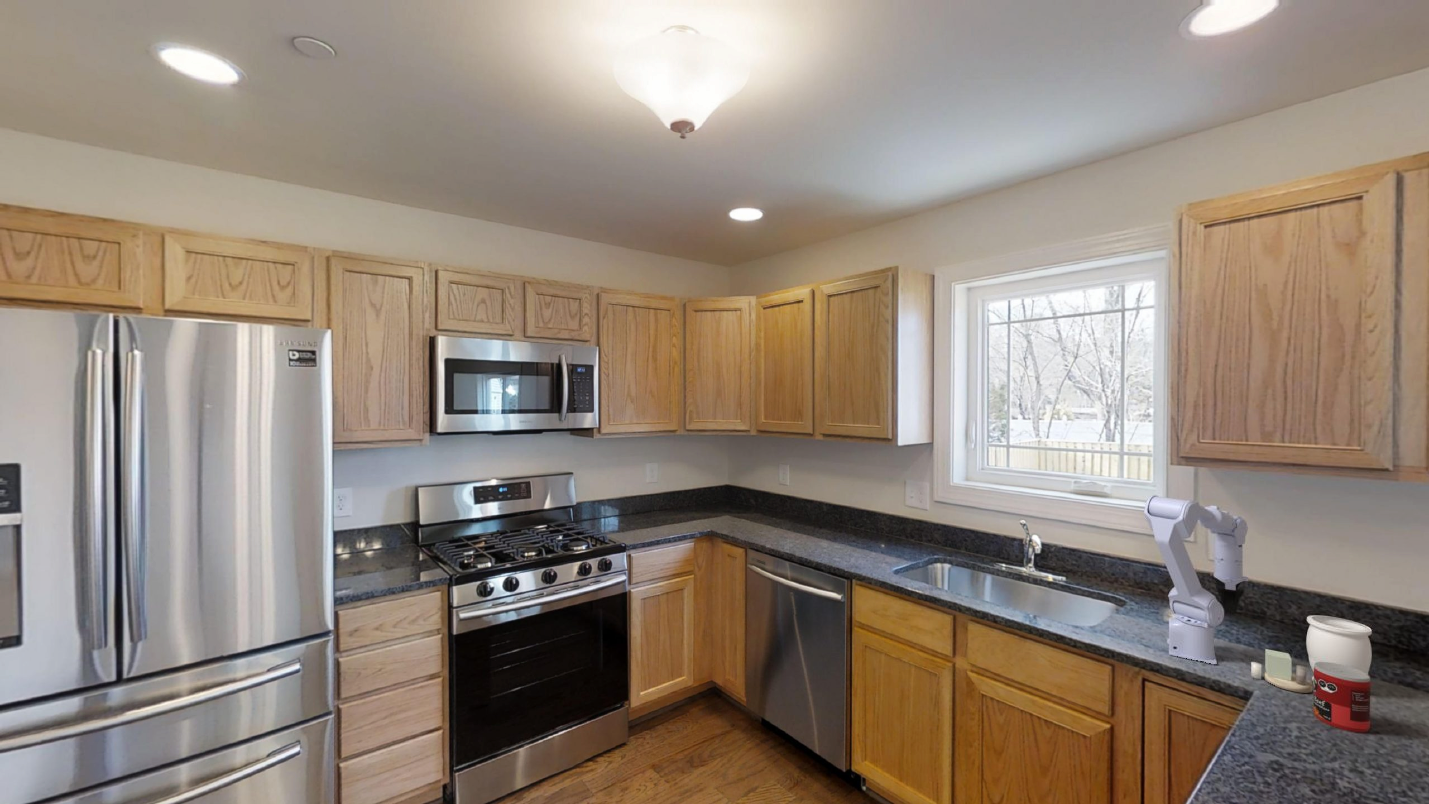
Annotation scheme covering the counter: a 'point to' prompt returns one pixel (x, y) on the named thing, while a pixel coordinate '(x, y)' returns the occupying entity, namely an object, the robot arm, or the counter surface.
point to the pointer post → (1256, 670)
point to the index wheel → (1293, 681)
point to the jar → (1338, 642)
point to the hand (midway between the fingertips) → (1228, 608)
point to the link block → (1278, 664)
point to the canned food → (1341, 696)
